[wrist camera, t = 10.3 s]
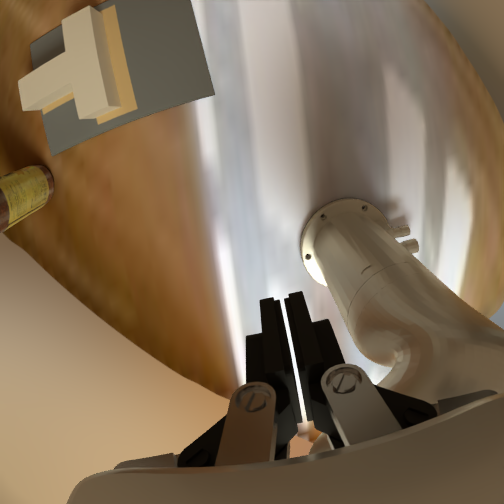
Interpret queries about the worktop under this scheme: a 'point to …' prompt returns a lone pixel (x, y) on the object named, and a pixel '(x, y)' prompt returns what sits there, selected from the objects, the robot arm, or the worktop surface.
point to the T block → (76, 70)
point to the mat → (132, 67)
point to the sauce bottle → (23, 193)
